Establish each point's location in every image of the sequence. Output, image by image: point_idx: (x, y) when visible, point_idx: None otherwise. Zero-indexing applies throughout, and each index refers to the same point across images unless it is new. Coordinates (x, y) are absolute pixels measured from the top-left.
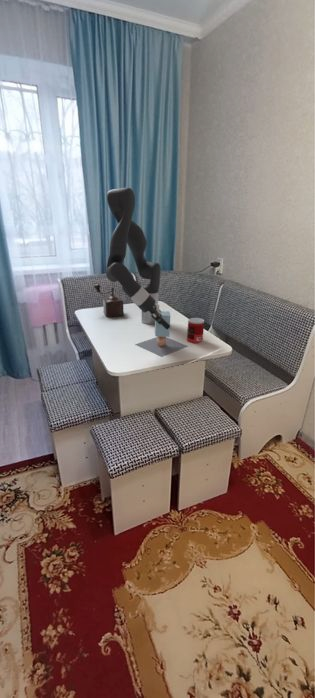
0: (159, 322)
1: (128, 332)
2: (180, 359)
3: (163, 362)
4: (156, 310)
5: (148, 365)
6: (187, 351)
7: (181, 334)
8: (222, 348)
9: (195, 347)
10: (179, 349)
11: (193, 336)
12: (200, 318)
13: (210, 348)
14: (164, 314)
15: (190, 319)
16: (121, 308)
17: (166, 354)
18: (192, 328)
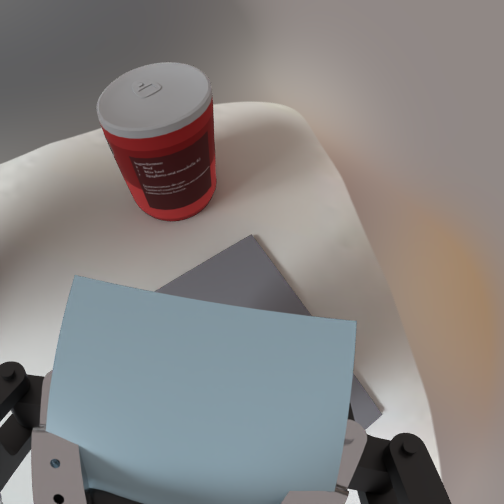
0: (389, 488)
1: (16, 491)
2: (399, 318)
3: (423, 404)
4: None
5: (437, 466)
6: (307, 258)
7: (71, 227)
8: (278, 113)
9: (257, 204)
10: (294, 298)
11: (207, 176)
12: (130, 72)
13: (275, 148)
14: (269, 436)
15: (117, 119)
16: None
17: (358, 386)
18: (196, 148)
